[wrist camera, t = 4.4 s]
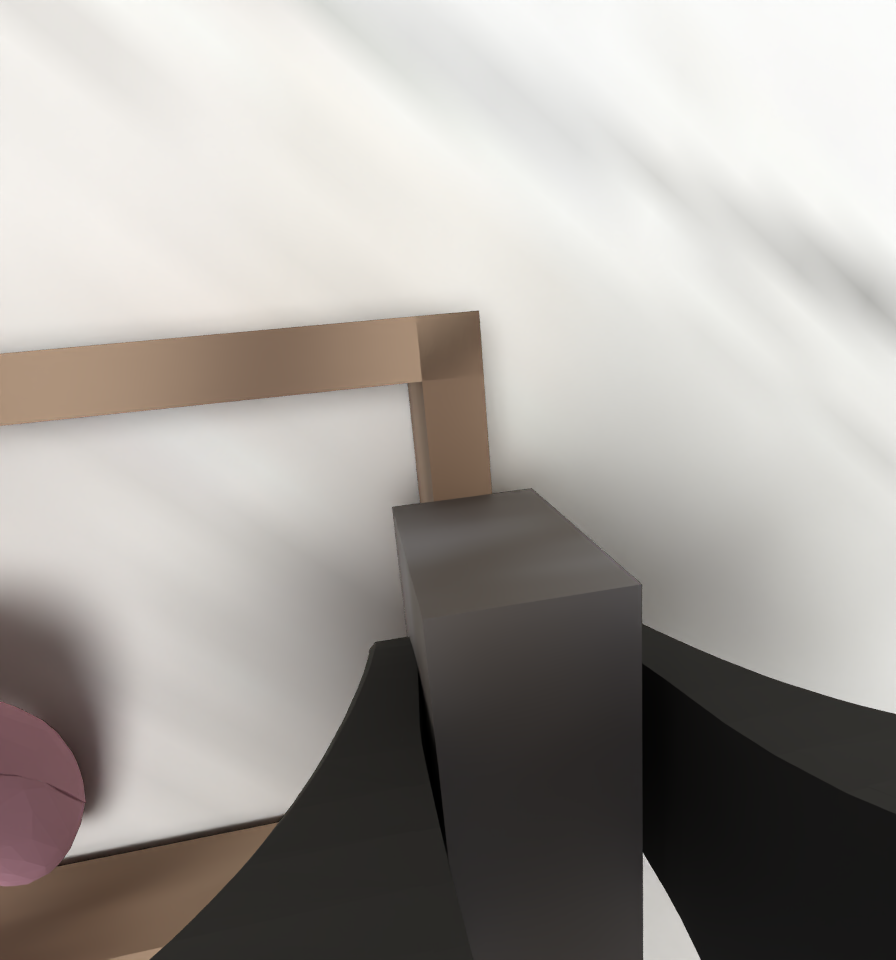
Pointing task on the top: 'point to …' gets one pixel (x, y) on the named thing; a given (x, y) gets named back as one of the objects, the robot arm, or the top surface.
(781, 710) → the robot arm
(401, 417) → the top surface
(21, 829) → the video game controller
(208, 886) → the sliding frame
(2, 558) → the top surface
